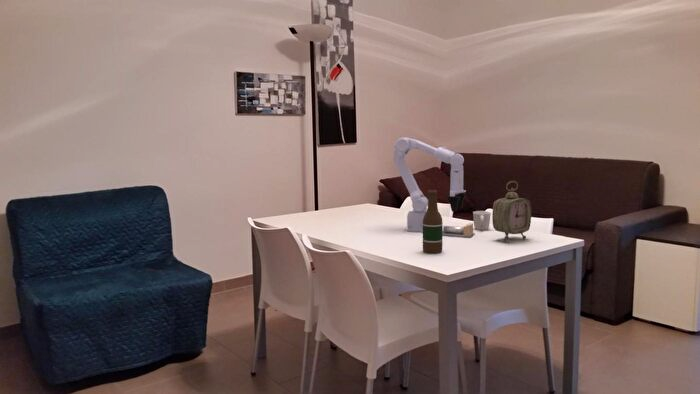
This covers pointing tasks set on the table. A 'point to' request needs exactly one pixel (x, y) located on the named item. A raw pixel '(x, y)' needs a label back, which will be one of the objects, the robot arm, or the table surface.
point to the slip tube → (453, 229)
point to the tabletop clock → (511, 214)
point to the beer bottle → (432, 226)
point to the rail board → (466, 232)
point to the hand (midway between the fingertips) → (456, 210)
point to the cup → (481, 220)
